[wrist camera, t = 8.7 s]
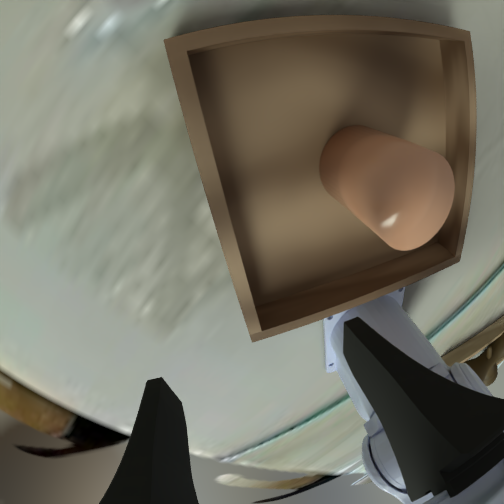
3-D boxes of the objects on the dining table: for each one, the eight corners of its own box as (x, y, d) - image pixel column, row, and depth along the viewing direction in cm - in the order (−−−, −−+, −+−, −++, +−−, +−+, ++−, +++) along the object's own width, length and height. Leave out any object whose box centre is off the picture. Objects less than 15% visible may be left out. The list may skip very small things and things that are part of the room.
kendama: (462, 381, 48) (457, 355, 37) (494, 350, 46) (498, 313, 35) (477, 400, 43) (478, 382, 32) (509, 368, 42) (520, 337, 31)
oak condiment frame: (503, 348, 48) (509, 355, 46) (414, 407, 46) (420, 417, 44) (531, 293, 39) (539, 300, 36) (438, 358, 36) (447, 370, 34)
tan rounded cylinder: (388, 193, 19) (448, 235, 14) (322, 210, 18) (375, 263, 13) (386, 120, 16) (457, 145, 11) (314, 131, 16) (377, 159, 11)
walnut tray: (438, 243, 24) (459, 261, 21) (243, 312, 22) (252, 342, 20) (439, 30, 14) (469, 31, 11) (166, 48, 12) (163, 39, 10)
